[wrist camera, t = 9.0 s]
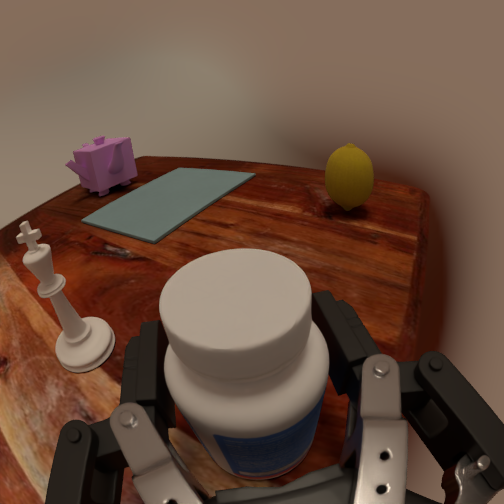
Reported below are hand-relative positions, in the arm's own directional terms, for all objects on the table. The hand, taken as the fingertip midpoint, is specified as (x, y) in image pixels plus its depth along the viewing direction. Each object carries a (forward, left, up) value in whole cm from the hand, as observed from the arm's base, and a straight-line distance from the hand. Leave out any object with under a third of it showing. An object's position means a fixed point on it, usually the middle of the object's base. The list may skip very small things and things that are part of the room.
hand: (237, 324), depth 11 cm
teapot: (+42, -21, -6) cm, 47 cm away
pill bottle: (-2, +2, -6) cm, 7 cm away
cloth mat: (+25, -21, -6) cm, 33 cm away
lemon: (+1, -25, -6) cm, 26 cm away
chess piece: (+12, +3, -6) cm, 14 cm away
